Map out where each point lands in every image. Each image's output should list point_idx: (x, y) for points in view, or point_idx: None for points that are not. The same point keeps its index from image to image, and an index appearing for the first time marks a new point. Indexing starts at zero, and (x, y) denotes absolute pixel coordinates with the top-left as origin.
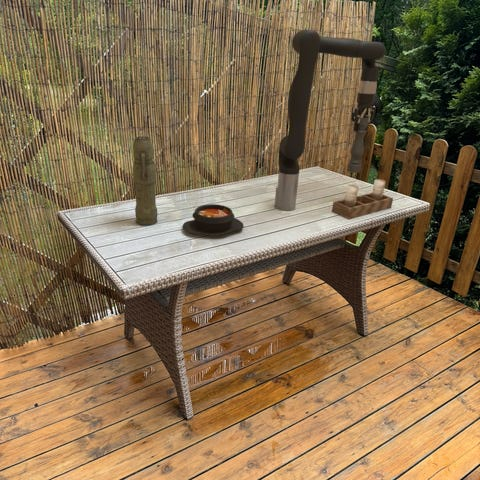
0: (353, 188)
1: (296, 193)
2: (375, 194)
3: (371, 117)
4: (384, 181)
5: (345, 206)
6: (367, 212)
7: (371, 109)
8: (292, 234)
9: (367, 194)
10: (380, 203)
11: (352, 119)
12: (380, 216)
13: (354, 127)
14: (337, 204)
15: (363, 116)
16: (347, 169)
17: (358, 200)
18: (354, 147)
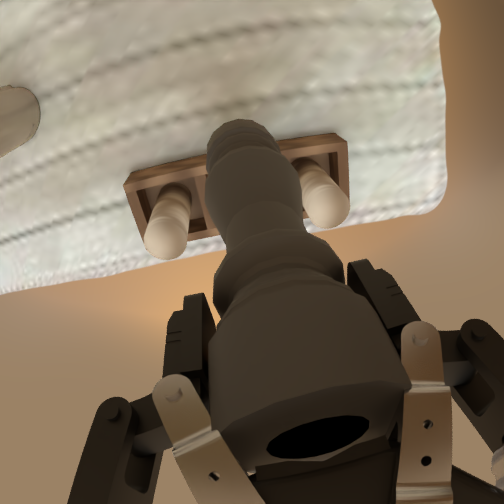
0: (156, 257)
1: (8, 148)
2: None
3: (455, 397)
4: (339, 220)
5: (141, 230)
6: None
7: (500, 477)
8: (5, 268)
9: (296, 153)
10: None
11: (106, 429)
12: None
13: (171, 342)
14: (129, 201)
15: (387, 406)
16: (209, 141)
17: None
18: (214, 222)
